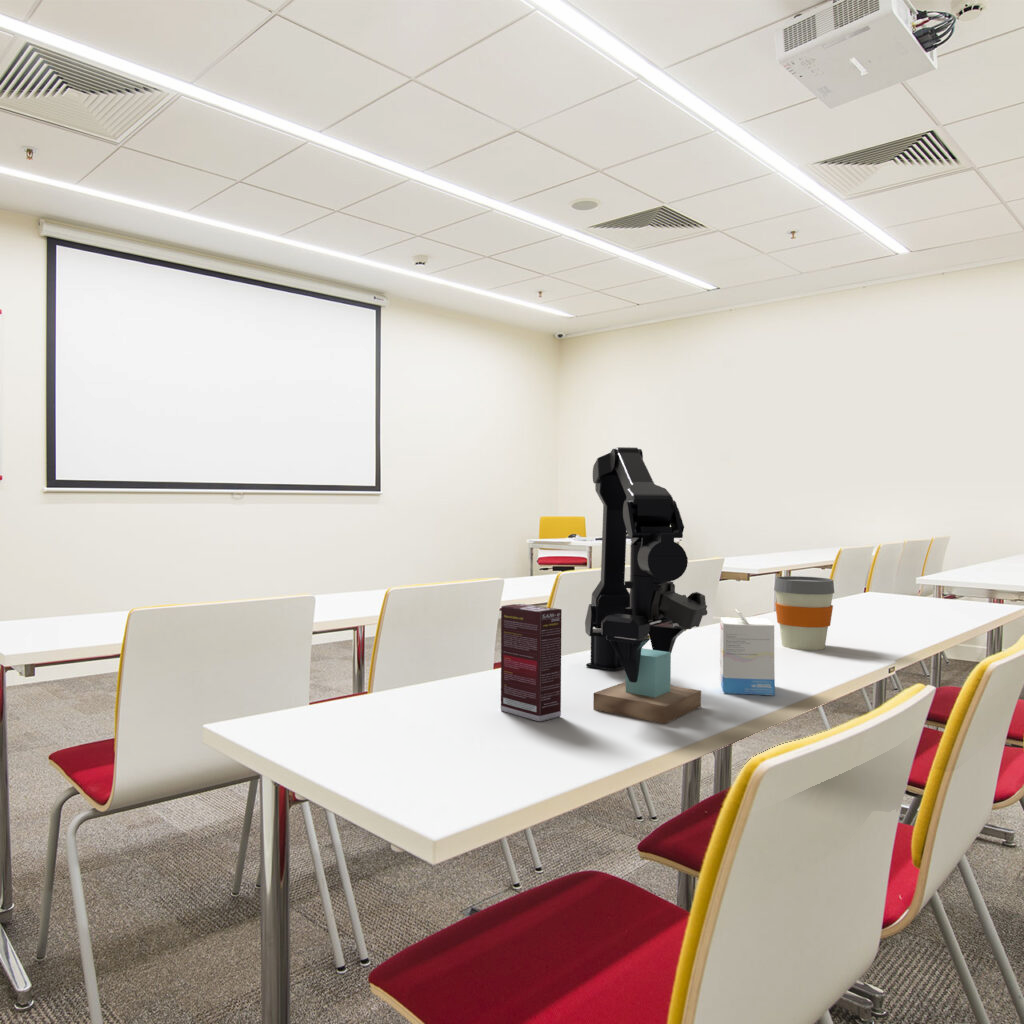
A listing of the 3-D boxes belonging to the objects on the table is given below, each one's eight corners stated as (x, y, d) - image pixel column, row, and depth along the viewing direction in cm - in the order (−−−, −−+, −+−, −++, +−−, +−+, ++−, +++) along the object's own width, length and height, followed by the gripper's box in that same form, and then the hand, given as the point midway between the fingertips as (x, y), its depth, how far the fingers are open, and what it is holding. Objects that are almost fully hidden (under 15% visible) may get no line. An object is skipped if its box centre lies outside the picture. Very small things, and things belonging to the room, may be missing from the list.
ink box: (775, 696, 126) (776, 614, 125) (722, 693, 127) (723, 612, 127) (768, 684, 134) (769, 607, 134) (718, 681, 136) (719, 606, 136)
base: (593, 709, 117) (593, 693, 117) (632, 694, 126) (632, 679, 126) (665, 723, 109) (665, 706, 109) (700, 706, 119) (701, 690, 119)
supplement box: (562, 716, 112) (563, 608, 112) (539, 723, 109) (540, 611, 109) (521, 705, 119) (522, 602, 119) (498, 710, 115) (499, 605, 115)
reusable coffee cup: (843, 651, 164) (844, 582, 164) (784, 651, 165) (785, 581, 164) (820, 641, 177) (821, 576, 177) (765, 640, 177) (766, 575, 177)
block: (625, 692, 117) (626, 652, 117) (641, 686, 121) (641, 648, 121) (655, 697, 114) (655, 657, 114) (670, 691, 118) (670, 652, 118)
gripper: (669, 583, 105) (668, 697, 105) (723, 574, 120) (722, 674, 120) (599, 578, 112) (598, 684, 112) (659, 569, 127) (658, 664, 127)
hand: (647, 676), depth 118 cm, fingers open, 9 cm apart
